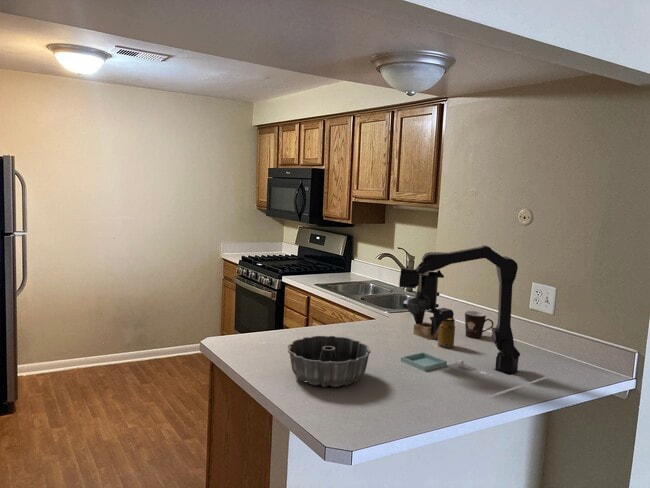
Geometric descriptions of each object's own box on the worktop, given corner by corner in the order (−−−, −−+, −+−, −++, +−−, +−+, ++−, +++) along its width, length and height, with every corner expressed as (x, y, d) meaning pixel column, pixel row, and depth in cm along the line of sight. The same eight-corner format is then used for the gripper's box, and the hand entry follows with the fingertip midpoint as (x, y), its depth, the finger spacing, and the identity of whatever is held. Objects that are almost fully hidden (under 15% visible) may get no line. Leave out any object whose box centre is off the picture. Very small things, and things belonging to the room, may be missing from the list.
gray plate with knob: (477, 370, 179) (478, 362, 179) (462, 374, 175) (463, 366, 174) (459, 363, 186) (459, 355, 185) (444, 367, 181) (444, 359, 181)
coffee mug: (458, 334, 223) (460, 311, 222) (474, 332, 227) (476, 310, 226) (477, 342, 213) (479, 318, 211) (493, 340, 216) (495, 317, 215)
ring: (438, 336, 181) (438, 326, 180) (426, 338, 177) (426, 328, 177) (425, 331, 186) (425, 322, 185) (413, 334, 182) (413, 324, 182)
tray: (446, 367, 182) (446, 361, 181) (424, 372, 175) (424, 366, 175) (422, 357, 191) (423, 352, 190) (400, 362, 184) (401, 356, 184)
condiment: (444, 344, 208) (446, 314, 207) (461, 350, 202) (464, 319, 201) (432, 347, 204) (434, 317, 202) (450, 353, 197) (452, 322, 196)
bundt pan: (295, 396, 151) (297, 363, 150) (279, 365, 176) (280, 336, 175) (380, 391, 158) (382, 359, 157) (353, 361, 183) (354, 334, 182)
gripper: (393, 286, 182) (390, 329, 184) (433, 296, 167) (430, 343, 169) (415, 283, 189) (412, 325, 191) (456, 293, 174) (452, 339, 176)
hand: (425, 333), depth 181 cm, fingers closed on ring, 6 cm apart
